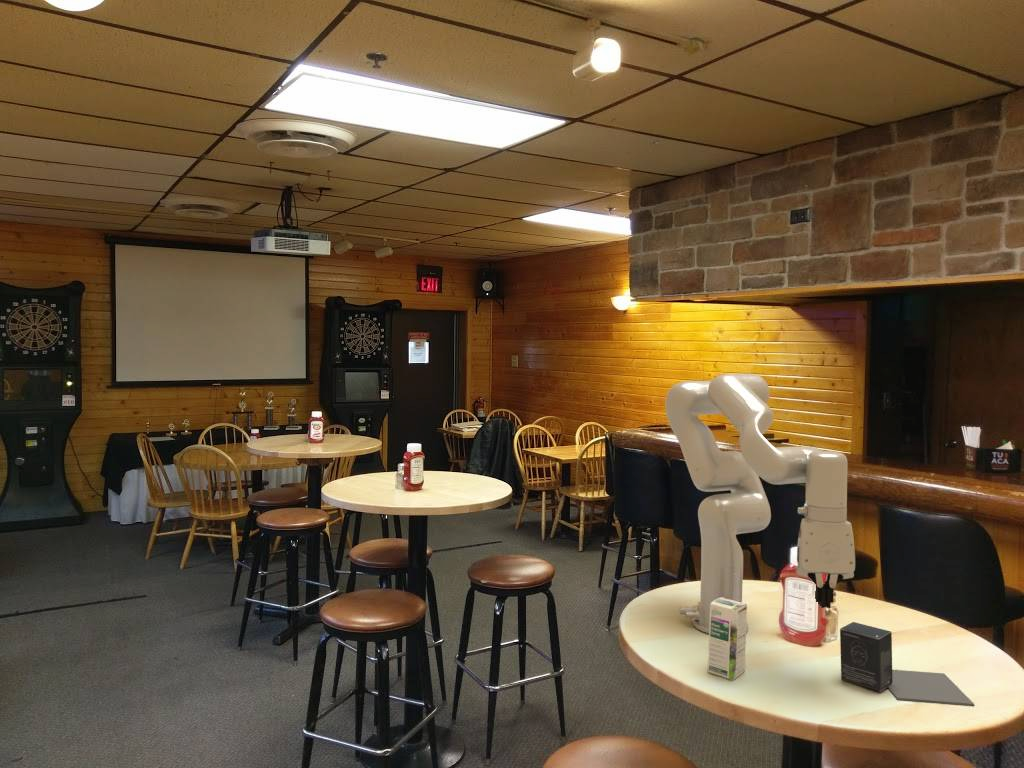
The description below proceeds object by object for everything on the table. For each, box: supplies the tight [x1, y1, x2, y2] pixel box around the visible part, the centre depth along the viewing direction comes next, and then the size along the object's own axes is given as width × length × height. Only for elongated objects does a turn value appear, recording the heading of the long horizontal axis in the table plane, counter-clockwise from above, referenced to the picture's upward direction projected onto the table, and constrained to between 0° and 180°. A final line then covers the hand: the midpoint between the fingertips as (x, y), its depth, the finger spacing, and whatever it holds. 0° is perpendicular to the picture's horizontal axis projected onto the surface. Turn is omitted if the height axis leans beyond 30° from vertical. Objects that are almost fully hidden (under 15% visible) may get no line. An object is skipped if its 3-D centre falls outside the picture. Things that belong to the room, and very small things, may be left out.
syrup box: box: [707, 597, 748, 681], centre depth 150 cm, size 6×6×14 cm
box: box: [839, 621, 893, 692], centre depth 146 cm, size 8×6×11 cm
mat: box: [887, 669, 975, 707], centre depth 145 cm, size 14×13×1 cm
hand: (824, 605), depth 147 cm, fingers closed
